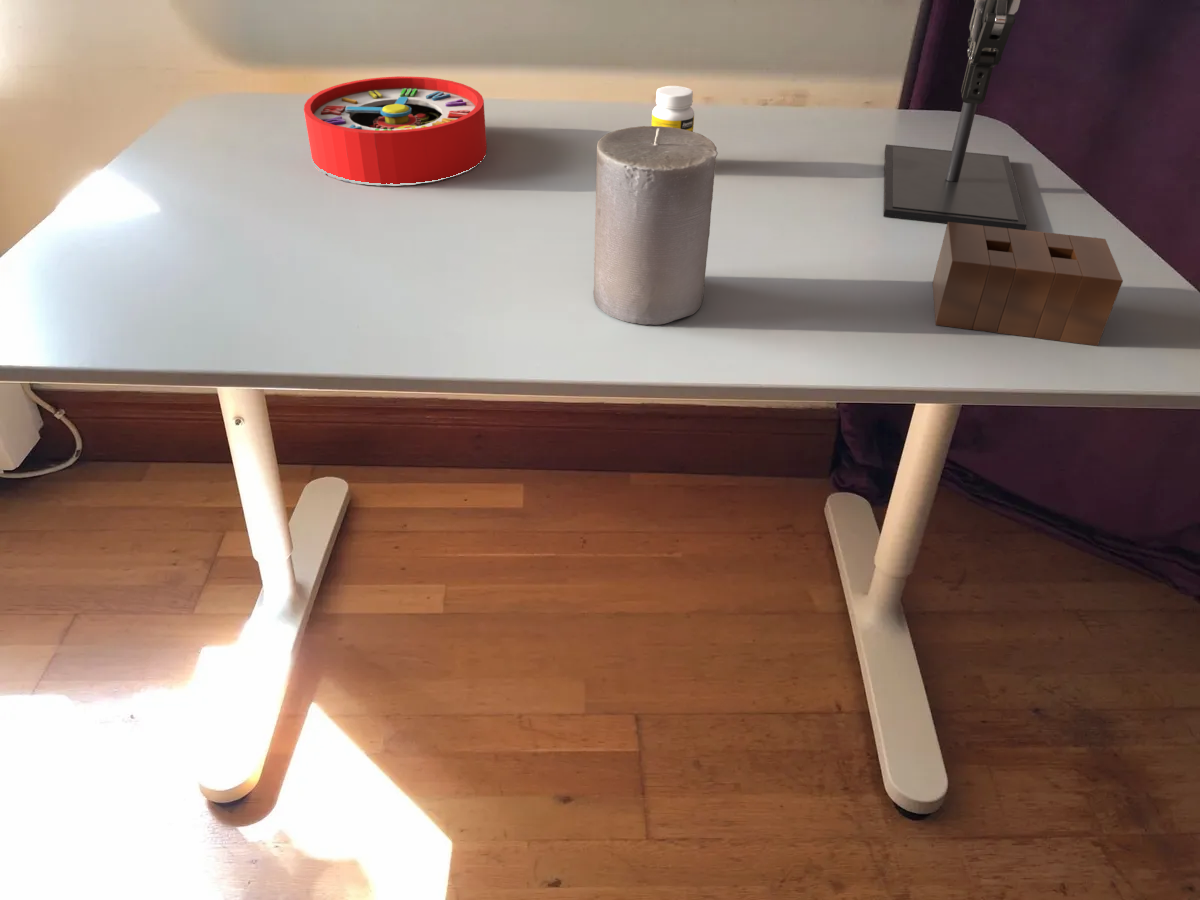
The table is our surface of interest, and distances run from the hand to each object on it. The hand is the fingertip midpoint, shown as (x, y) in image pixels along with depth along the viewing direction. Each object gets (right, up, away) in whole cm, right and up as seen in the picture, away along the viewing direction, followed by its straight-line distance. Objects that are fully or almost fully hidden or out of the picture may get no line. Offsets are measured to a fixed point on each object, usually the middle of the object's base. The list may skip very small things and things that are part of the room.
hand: (971, 98), depth 100 cm
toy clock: (-62, -2, +12) cm, 63 cm away
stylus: (0, -7, +5) cm, 9 cm away
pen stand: (-3, -25, -17) cm, 30 cm away
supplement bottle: (-31, -4, +10) cm, 33 cm away
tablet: (0, -8, +6) cm, 10 cm away
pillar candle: (-35, -24, -16) cm, 45 cm away
